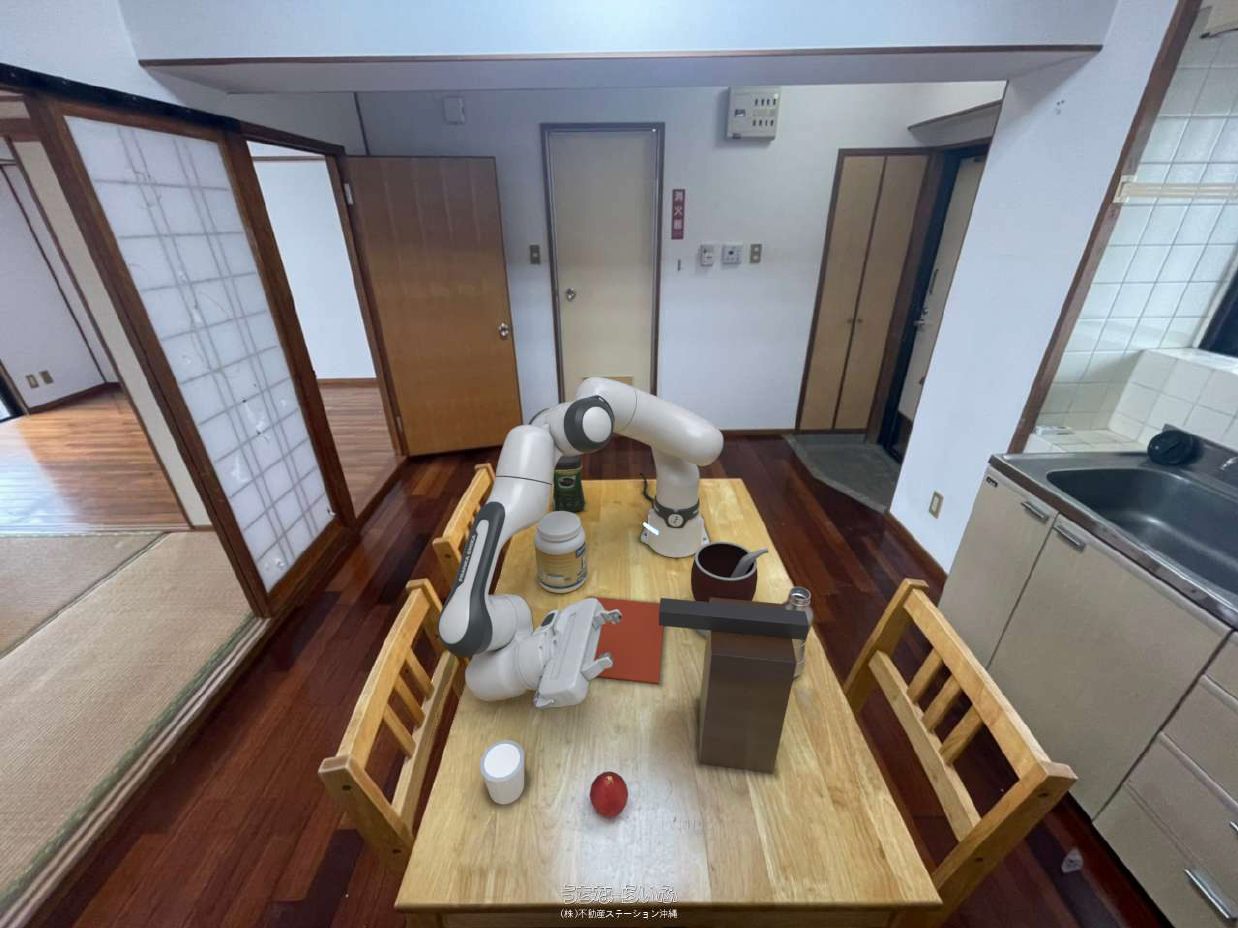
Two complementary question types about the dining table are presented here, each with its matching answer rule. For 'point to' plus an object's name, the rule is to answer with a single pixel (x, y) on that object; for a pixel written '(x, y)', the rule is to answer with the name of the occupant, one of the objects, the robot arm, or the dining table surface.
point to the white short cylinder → (503, 771)
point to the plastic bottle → (800, 602)
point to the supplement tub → (560, 552)
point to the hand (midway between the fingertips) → (615, 635)
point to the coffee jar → (568, 485)
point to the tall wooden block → (744, 696)
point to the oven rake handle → (733, 618)
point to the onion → (608, 794)
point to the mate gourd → (724, 573)
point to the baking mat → (632, 641)
